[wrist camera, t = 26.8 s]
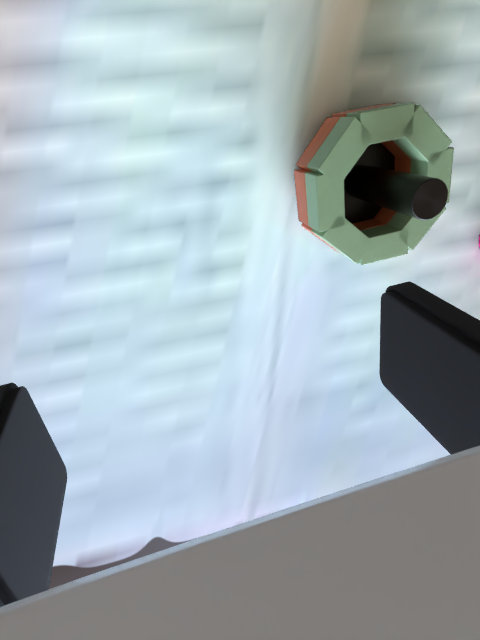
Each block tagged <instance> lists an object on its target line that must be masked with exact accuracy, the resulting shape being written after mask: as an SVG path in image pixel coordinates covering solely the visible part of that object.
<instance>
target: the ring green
mask: <svg viewBox="0 0 480 640" xmlns="http://www.w3.org/2000/svg"><path fill="white" fill-rule="evenodd" d="M390 140H393V141H394V142H395V143H396V144H397V145H398V147H399V148H400V149H401V150H402V151H403V152H404V153H405V154H406V155H407V156H408V157H409V158H410V159H411V170H410V173H412V174H417V175H423V176H428V177H434V178H439V179H441V180H442V181H443V182H444V183H445V184H446V186H447V189H448V199H447V202H446V203H448V202H449V194H450V183H451V172H452V161H453V150H454V148H453V147H449V145H450V144H451V143H452V141H451V140H450V139H449V138H448V136H447V135H446V134H445V133H444V132H443V131H442V130H441V128H440V127H439V126H438V125H437V124H436V123H435V122H434V120H433V119H432V118H431V117H430V116H429V115H428V114H427V112H426V111H425V110H424V109H423V108H422V107H421V106H420V105H414V103H401V104H393V105H387V106H382V107H377V108H371V109H366V110H360V111H355V112H350V113H346V117H340V119H339V120H338V122H337V123H336V125H335V126H334V127H333V129H332V130H331V132H330V133H329V135H328V136H327V138H326V139H325V140H324V142H323V143H322V145H321V146H320V148H319V149H318V151H317V152H316V153H315V155H314V156H313V158H312V159H311V161H310V162H309V163H308V165H307V167H308V168H309V169H310V170H311V171H310V172H306V173H305V183H306V197H307V211H308V225H309V226H310V227H311V228H313V229H312V230H311V231H312V232H313V233H314V234H316V235H317V236H318V237H320V238H321V239H322V240H324V241H325V242H326V243H328V244H329V245H330V246H332V247H333V248H334V249H335V250H337V251H338V252H339V253H341V254H342V255H343V256H345V257H346V258H348V259H349V260H351V261H353V262H354V263H356V264H358V263H360V264H361V265H364V264H368V263H372V262H376V261H380V260H384V259H388V258H392V257H397V256H401V255H405V254H407V253H408V249H410V250H413V249H414V248H415V247H416V245H417V244H418V243H419V242H420V240H421V239H422V238H423V237H424V235H425V234H426V233H427V232H428V230H429V229H430V228H431V227H432V225H433V224H434V223H435V222H436V221H437V219H438V218H439V217H440V216H441V214H442V213H443V212H444V211H445V209H446V207H444V208H443V210H442V211H441V212H440V213H439V214H438V215H437V216H436V217H434V218H432V219H429V220H420V219H417V218H414V217H411V216H408V215H405V214H402V213H399V212H396V213H395V215H394V216H393V217H392V218H391V220H390V221H389V222H388V224H387V225H382V226H378V227H374V228H369V229H365V230H361V231H360V230H359V229H358V228H357V227H355V226H354V225H353V224H352V223H351V222H349V221H348V220H347V219H346V218H345V201H344V179H345V177H346V176H347V174H348V173H349V172H350V170H351V169H352V168H353V166H354V165H355V163H356V162H357V161H358V159H359V158H360V157H361V155H362V154H363V152H364V151H365V150H366V148H367V147H368V146H369V145H370V144H375V143H380V142H385V141H390Z"/></svg>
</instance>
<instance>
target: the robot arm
mask: <svg viewBox="0 0 480 640" xmlns="http://www.w3.org/2000/svg"><path fill="white" fill-rule="evenodd" d="M380 378H381V381H382V383H383V385H384V386H385V387H386V388H387V389H388V390H389V391H390V392H391V393H392V394H393V395H394V396H395V398H396V399H397V400H398V401H399V402H400V403H401V404H402V405H403V406H404V407H405V408H406V409H407V410H408V411H409V412H410V413H411V414H412V415H413V416H414V417H415V418H416V419H417V420H418V421H419V422H420V423H421V424H422V425H423V426H424V427H425V428H426V429H427V430H428V431H429V432H430V434H431V435H432V436H433V437H434V438H435V439H436V440H437V441H438V442H439V443H440V444H441V445H442V446H443V447H444V448H445V449H446V450H447V451H448V452H449V453H450V454H451V455H449V456H446V457H443V458H439V459H436V460H433V461H430V462H427V463H424V464H421V465H418V466H415V467H412V468H409V469H406V470H403V471H400V472H396V473H393V474H390V475H387V476H384V477H381V478H378V479H375V480H372V481H369V482H366V483H363V484H360V485H357V486H354V487H351V488H348V489H345V490H342V491H339V492H336V493H333V494H330V495H327V496H324V497H320V498H317V499H314V500H311V501H308V502H305V503H302V504H299V505H296V506H293V507H290V508H287V509H284V510H281V511H278V512H275V513H272V514H269V515H266V516H263V517H260V518H257V519H254V520H251V521H248V522H245V523H242V524H239V525H236V526H233V527H230V528H227V529H224V530H221V531H218V532H215V533H212V534H210V535H207V536H204V537H201V538H198V539H195V540H192V541H189V542H186V543H183V544H180V545H177V546H174V547H171V548H168V549H165V550H162V551H159V552H156V553H153V554H151V555H147V556H144V557H142V558H139V559H136V560H133V561H130V562H127V563H124V564H121V565H118V566H115V567H112V568H109V569H106V570H103V571H100V572H97V573H94V574H92V575H89V576H86V577H83V578H80V579H78V580H75V581H72V582H69V583H66V584H64V585H61V586H58V587H55V588H52V589H50V590H49V584H50V578H51V572H52V566H53V560H54V554H55V548H56V542H57V536H58V530H59V524H60V518H61V512H62V506H63V501H64V495H65V489H66V483H67V472H66V467H65V465H64V463H63V461H62V459H61V457H60V455H59V453H58V451H57V449H56V447H55V445H54V443H53V441H52V439H51V437H50V435H49V433H48V431H47V429H46V427H45V425H44V423H43V421H42V419H41V417H40V415H39V413H38V411H37V409H36V407H35V405H34V403H33V401H32V399H31V397H30V395H29V393H28V391H27V389H26V388H25V387H23V386H21V387H18V386H17V385H16V384H14V383H9V384H5V385H1V386H0V640H480V321H479V320H478V319H476V318H474V317H472V316H471V315H469V314H467V313H465V312H464V311H462V310H460V309H458V308H456V307H455V306H453V305H451V304H449V303H448V302H446V301H444V300H442V299H440V298H439V297H437V296H435V295H433V294H432V293H430V292H428V291H426V290H425V289H423V288H421V287H419V286H417V285H416V284H414V283H412V282H405V283H401V284H397V285H393V286H389V287H388V288H387V290H386V293H384V294H382V297H381V324H380Z"/></svg>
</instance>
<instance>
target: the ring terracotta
mask: <svg viewBox="0 0 480 640" xmlns="http://www.w3.org/2000/svg"><path fill="white" fill-rule="evenodd" d="M393 104H396V103H393ZM393 104H379V105H374V106H369V107H364V108H359V109H354V110H349V111H344V112H339V113H333V114H332V117H330V118H327V119H326V120H325V121H324V123H323V124H322V126H321V127H320V129H319V130H318V132H317V133H316V135H315V136H314V138H313V139H312V141H311V142H310V144H309V145H308V147H307V148H306V150H305V151H304V153H303V154H302V156H301V157H300V159H299V160H298V162H297V163H296V165H297V166H298V167H299V168H301V169H297V170H294V175H295V185H296V196H297V207H298V218H299V221H300V222H302V226H303V227H304V228H306V229H307V230H308V231H310V232H311V233H312V234H314V233H313V232H312V231H311V230H312V229H313V228H311V227H310V226H309V225H308V211H307V197H306V183H305V173H306V172H310V171H311V170H310V169H309V168H308V167H307V165H308V163H309V162H310V161H311V159H312V158H313V156H314V155H315V153H316V152H317V151H318V149H319V148H320V146H321V145H322V143H323V142H324V140H325V139H326V138H327V136H328V135H329V133H330V132H331V130H332V129H333V127H334V126H335V125H336V123H337V122H338V120H339V119H340V117H346V113H350V112H355V111H360V110H366V109H371V108H377V107H382V106H387V105H393ZM381 143H382V144H383V145H384V146H385V147H386V148H387V149H388V150H389V151H390V152H391V153H392V154H393V155H394V156H395V171H401V172H406V173H410V170H411V159H410V158H409V157H408V156H407V155H406V154H405V153H404V152H403V151H402V150H401V149H400V148H399V147H398V145H397V144H396V143H395V142H394V141H393V140H390V141H385V142H381ZM395 213H396V211H393V210H390V209H387V208H384V207H382V208H381V209H380V211H379V212H378V213H377V215H376V216H375V217H374V219H370V220H366V221H362V222H357V223H353V225H354V226H355V227H357V228H358V229H359V230H360V231H361V230H365V229H369V228H374V227H378V226H382V225H387V224H388V222H389V221H390V220H391V218H392V217H393V216H394V215H395ZM314 235H315V236H316V237H318V236H317V235H316V234H314ZM318 238H319V239H320V240H322V239H321V238H320V237H318ZM322 241H323V242H324V243H326V242H325V241H324V240H322ZM326 244H327V245H329V244H328V243H326ZM329 246H330V245H329ZM330 247H331V248H333V247H332V246H330ZM333 249H334V248H333ZM334 250H335V249H334ZM336 251H337V250H336ZM337 252H338V251H337ZM340 254H341V253H340Z"/></svg>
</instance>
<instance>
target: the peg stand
mask: <svg viewBox="0 0 480 640" xmlns="http://www.w3.org/2000/svg"><path fill="white" fill-rule="evenodd" d="M447 199H448V189H447V186H446V184H445V183H444V182H443V181H442V180H441V179H439V178H434V177H428V176H423V175H417V174H412V173H406V172H401V171H395V156H394V155H393V154H392V153H391V152H390V151H389V150H388V149H387V148H386V147H385V146H384V145H383V144H382V143H381V142H380V143H375V144H370V145H369V146H368V147H367V148H366V150H365V151H364V152H363V154H362V155H361V157H360V158H359V159H358V161H357V162H356V163H355V165H354V166H353V168H352V169H351V170H350V172H349V173H348V174H347V176H346V177H345V179H344V201H345V218H346V219H347V220H348V221H349V222H351V223H352V224H353V223H357V222H362V221H366V220H370V219H374V217H375V216H376V215H377V213H378V212H379V211H380V209H381V208H382V207H384V208H387V209H390V210H393V211H396V212H399V213H402V214H405V215H408V216H411V217H414V218H417V219H420V220H429V219H432V218H434V217H436V216H437V215H438V214H439V213H440V212H441V211H442V210H443V208H444V207H445V205H446V202H447Z"/></svg>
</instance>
